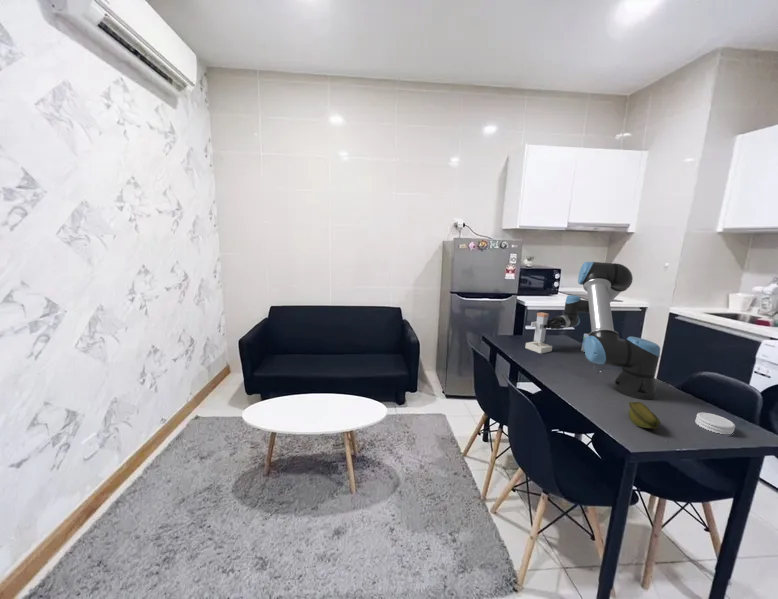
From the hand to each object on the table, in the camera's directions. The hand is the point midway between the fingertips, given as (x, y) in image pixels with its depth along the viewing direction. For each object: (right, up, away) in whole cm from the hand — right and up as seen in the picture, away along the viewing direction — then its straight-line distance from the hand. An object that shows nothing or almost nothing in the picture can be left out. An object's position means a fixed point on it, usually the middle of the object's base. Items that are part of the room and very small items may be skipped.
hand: (535, 325), depth 189 cm
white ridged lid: (+34, -31, -68) cm, 82 cm away
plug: (+4, -9, +4) cm, 11 cm away
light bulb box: (+35, -17, +6) cm, 40 cm away
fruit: (+8, -30, -68) cm, 75 cm away
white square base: (+4, -15, +5) cm, 16 cm away
